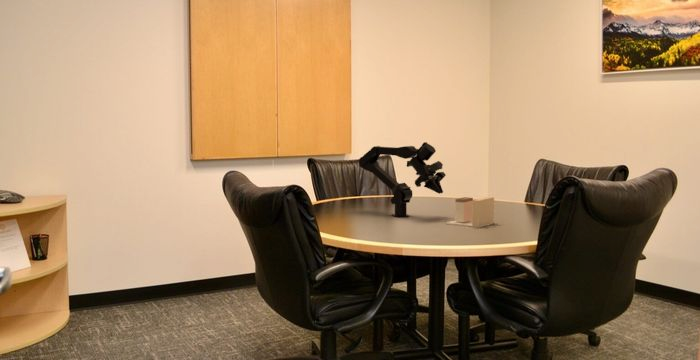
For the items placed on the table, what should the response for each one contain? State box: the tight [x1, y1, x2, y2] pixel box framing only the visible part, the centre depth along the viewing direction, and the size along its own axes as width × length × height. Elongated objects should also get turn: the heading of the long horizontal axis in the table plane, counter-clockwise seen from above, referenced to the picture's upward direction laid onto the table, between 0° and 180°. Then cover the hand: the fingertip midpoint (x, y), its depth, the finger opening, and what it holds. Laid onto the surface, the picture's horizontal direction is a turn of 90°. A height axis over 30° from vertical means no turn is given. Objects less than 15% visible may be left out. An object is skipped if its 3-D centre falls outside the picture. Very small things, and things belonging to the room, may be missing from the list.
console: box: [445, 196, 495, 229], centre depth 278 cm, size 16×14×12 cm
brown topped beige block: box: [455, 196, 474, 222], centre depth 280 cm, size 4×8×10 cm, turn 141°
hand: (441, 192), depth 286 cm, fingers closed
